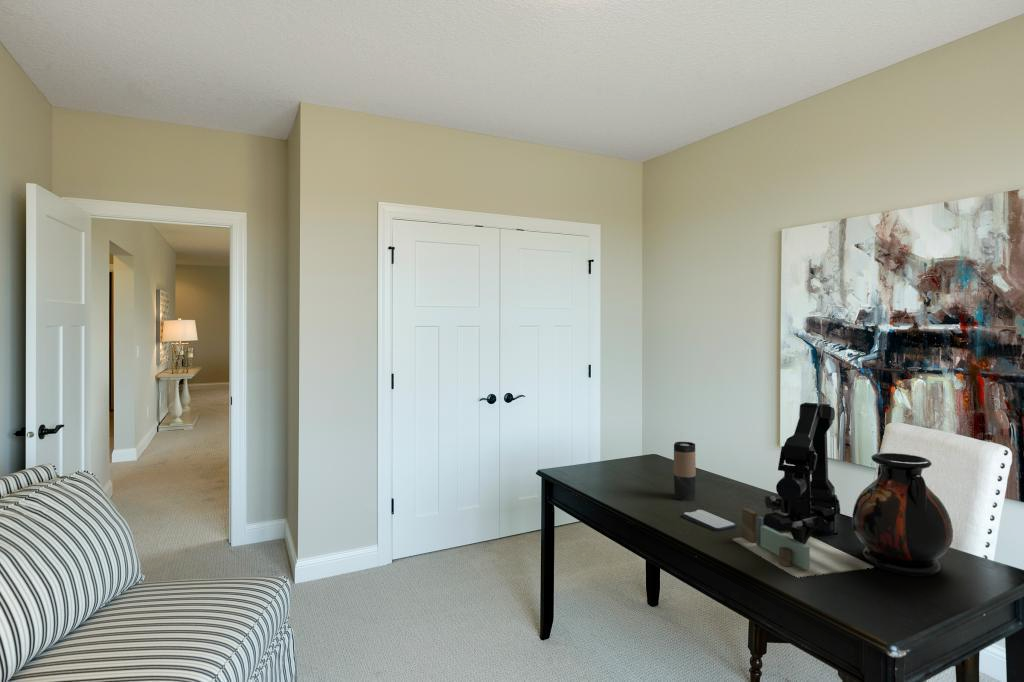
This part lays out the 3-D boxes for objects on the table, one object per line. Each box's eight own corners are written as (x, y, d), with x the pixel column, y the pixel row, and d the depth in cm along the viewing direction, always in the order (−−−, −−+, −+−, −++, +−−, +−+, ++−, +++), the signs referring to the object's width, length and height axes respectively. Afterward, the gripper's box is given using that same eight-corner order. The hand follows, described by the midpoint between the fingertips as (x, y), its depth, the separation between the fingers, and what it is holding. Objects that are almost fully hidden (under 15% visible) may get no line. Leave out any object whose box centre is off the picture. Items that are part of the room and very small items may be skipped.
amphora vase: (837, 547, 158) (837, 448, 158) (919, 549, 156) (920, 449, 155) (878, 581, 137) (878, 467, 136) (974, 584, 134) (975, 468, 134)
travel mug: (700, 499, 203) (700, 444, 202) (683, 502, 200) (682, 446, 200) (686, 494, 210) (686, 440, 210) (669, 496, 207) (669, 442, 207)
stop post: (786, 563, 148) (786, 546, 147) (794, 568, 145) (794, 550, 144) (776, 564, 147) (776, 547, 147) (784, 569, 144) (784, 552, 144)
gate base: (799, 532, 170) (799, 502, 169) (873, 567, 144) (873, 533, 144) (732, 539, 164) (732, 509, 164) (796, 578, 139) (796, 542, 139)
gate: (754, 543, 159) (754, 516, 159) (760, 542, 160) (760, 516, 159) (803, 569, 142) (803, 539, 142) (810, 568, 142) (810, 538, 142)
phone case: (738, 529, 175) (700, 513, 189) (738, 524, 175) (700, 508, 189) (717, 534, 171) (680, 517, 185) (717, 529, 171) (680, 512, 185)
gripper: (801, 479, 158) (802, 534, 158) (747, 487, 152) (748, 544, 152) (835, 489, 147) (836, 548, 148) (779, 499, 141) (780, 560, 142)
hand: (799, 549), depth 148 cm, fingers closed
